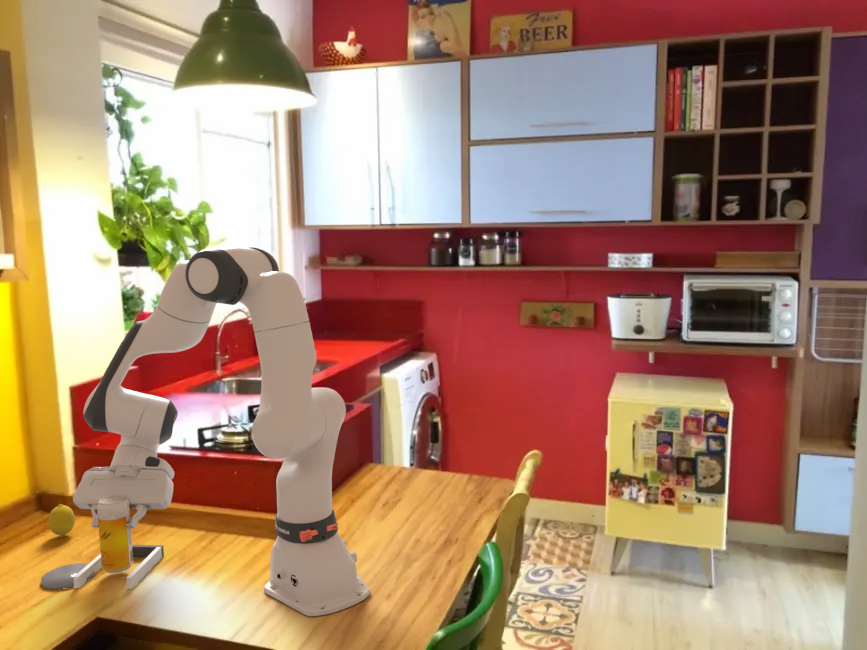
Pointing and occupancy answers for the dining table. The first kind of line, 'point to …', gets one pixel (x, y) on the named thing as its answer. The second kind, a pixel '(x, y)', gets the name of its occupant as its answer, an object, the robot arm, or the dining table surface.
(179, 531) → the dining table surface
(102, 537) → the beer can
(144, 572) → the channel
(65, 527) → the lemon
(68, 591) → the dining table surface
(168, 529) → the dining table surface
